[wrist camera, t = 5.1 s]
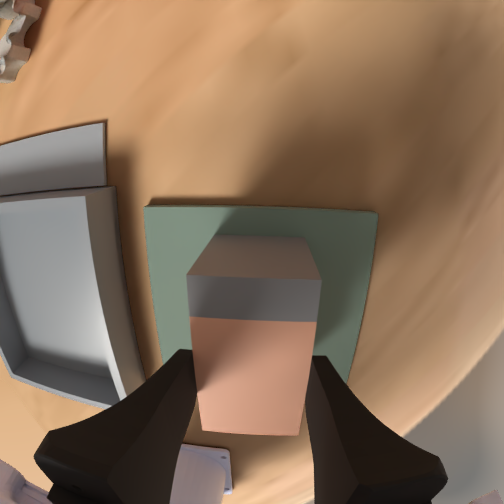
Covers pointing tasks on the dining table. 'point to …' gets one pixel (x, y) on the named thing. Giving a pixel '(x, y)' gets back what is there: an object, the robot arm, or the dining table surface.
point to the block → (253, 332)
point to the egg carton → (15, 36)
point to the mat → (264, 224)
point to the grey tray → (64, 271)
